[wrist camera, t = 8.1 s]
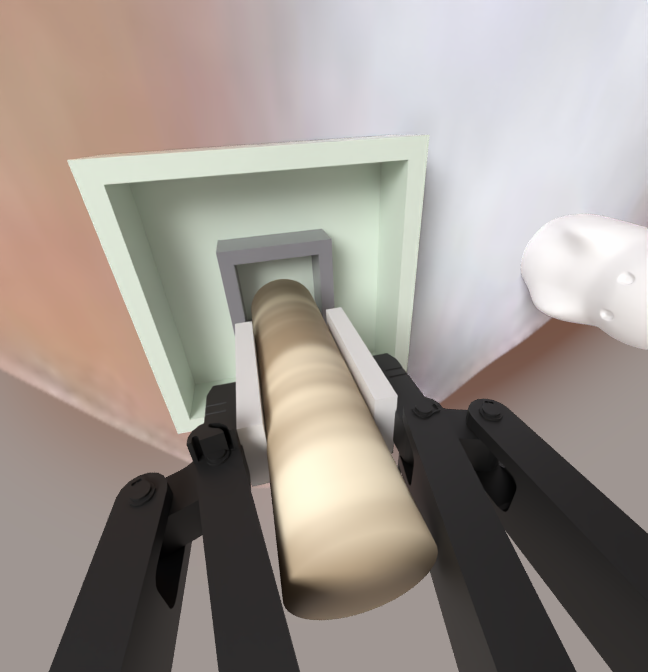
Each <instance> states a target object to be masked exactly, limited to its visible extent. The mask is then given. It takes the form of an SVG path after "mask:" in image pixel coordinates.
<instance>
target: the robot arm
mask: <svg viewBox="0 0 648 672" xmlns="http://www.w3.org/2000/svg"><path fill="white" fill-rule="evenodd" d="M326 318H327V327H328V329H329V331H330V333H331V335H332V337H333V339H334V341H335V343H336V345H337V347H338V349H339V351H340V353H341V355H342V357H343V359H344V361H345V363H346V365H347V367H348V369H349V371H350V373H351V375H352V377H353V379H354V381H355V383H356V385H357V387H358V389H359V391H360V393H361V395H362V397H363V399H364V401H365V403H366V405H367V407H368V409H369V411H370V413H371V415H372V417H373V419H374V421H375V423H376V425H377V427H378V429H379V431H380V433H381V435H382V437H383V439H384V441H385V443H386V445H387V447H388V449H389V451H390V453H391V454H392V453H393V447H394V444H395V445H396V447H397V449H398V451H399V459H398V469H399V471H400V473H402V476H403V479H404V481H405V483H406V485H407V487H408V489H409V491H410V493H411V495H412V497H413V499H414V501H415V503H416V505H417V507H418V509H419V511H420V513H421V515H422V517H423V519H424V521H425V523H426V525H427V527H428V529H429V531H430V533H431V535H432V537H433V539H434V541H435V543H436V545H437V549H438V554H437V559H436V562H435V564H434V565H433V567H432V569H431V570H430V573H431V577H432V580H433V583H434V587H435V590H436V594H437V597H438V601H439V604H440V608H441V611H442V615H443V618H444V622H445V625H446V628H447V632H448V635H449V639H450V642H451V646H452V649H453V653H454V656H455V659H456V663H457V667H458V670H459V672H576V670H575V668H574V666H573V664H572V662H571V660H570V658H569V656H568V654H567V652H566V650H565V648H564V647H563V644H562V642H561V640H560V638H559V636H558V634H557V632H556V630H555V629H554V626H553V624H552V623H551V620H550V618H549V617H548V615H547V613H546V611H545V609H544V607H543V605H542V603H541V601H540V599H539V597H538V595H537V593H536V591H535V589H534V587H533V585H532V583H531V581H530V579H529V577H528V575H527V573H526V571H525V569H524V567H523V565H522V563H521V561H520V559H519V557H518V555H517V553H516V552H515V549H514V547H513V545H512V544H511V542H510V539H509V538H508V535H507V534H506V532H507V533H508V534H509V536H510V537H511V538H512V540H513V541H514V542H515V544H516V545H517V546H518V548H519V549H520V550H521V552H522V553H523V554H524V555H525V557H526V558H527V560H528V561H529V562H530V563H531V565H532V566H533V567H534V569H535V570H536V571H537V573H538V574H539V575H540V577H541V578H542V579H543V581H544V582H545V583H546V584H547V586H548V587H549V588H550V590H551V591H552V592H553V594H554V595H555V596H556V598H557V599H558V600H559V602H560V603H561V604H562V606H563V607H564V608H565V609H566V610H567V612H568V613H569V615H570V616H571V617H572V619H573V620H574V621H575V623H576V624H577V625H578V627H579V628H580V629H581V630H582V632H583V633H584V634H585V636H586V637H587V638H588V639H589V641H590V642H591V644H592V645H593V646H594V648H595V649H596V650H597V652H598V653H599V654H600V655H601V657H602V658H603V660H604V661H605V662H606V663H607V665H608V666H609V667H610V669H611V670H612V671H613V672H648V533H646V532H645V531H644V530H643V529H642V528H641V527H640V526H639V525H638V524H636V523H635V522H634V521H633V520H632V519H631V518H630V517H629V516H628V515H626V514H625V513H624V512H623V511H622V510H621V509H620V508H619V507H617V506H616V505H615V504H614V503H613V502H612V501H611V500H610V499H609V498H607V497H606V496H605V495H604V494H603V493H602V492H601V491H600V490H599V489H597V488H596V487H595V486H594V485H593V484H592V483H591V482H590V481H589V480H587V479H586V478H585V477H584V476H583V475H582V474H581V473H580V472H578V471H577V470H576V469H575V468H574V467H573V466H572V465H571V464H570V463H568V462H567V461H566V460H565V459H564V458H563V457H561V455H560V454H558V453H557V452H556V451H555V450H554V449H553V448H552V447H551V446H550V445H548V444H547V443H546V442H545V441H544V440H543V439H541V437H540V436H538V435H537V434H536V433H535V432H534V431H533V430H532V429H530V427H528V426H527V425H526V424H525V423H524V422H523V421H522V420H521V419H519V418H518V417H517V416H516V415H515V414H514V413H513V412H511V410H509V409H508V408H507V407H506V406H504V405H503V404H501V403H499V402H497V401H494V400H489V399H477V400H475V401H473V402H471V404H470V405H469V408H468V410H456V409H445V408H442V406H441V405H440V404H439V403H438V402H436V401H434V400H433V399H430V398H426V397H424V395H423V394H422V393H421V391H420V390H419V389H418V387H417V386H416V385H415V383H414V382H413V381H412V379H411V378H410V376H409V375H407V372H406V371H405V370H404V368H402V366H401V364H400V363H399V362H398V360H397V359H396V358H394V357H393V356H391V355H389V354H388V353H384V354H379V355H373V356H372V355H371V353H370V352H369V350H368V348H367V347H366V345H365V344H364V342H363V341H362V339H361V337H360V336H359V334H358V333H357V331H356V330H355V328H354V326H353V325H352V323H351V322H350V320H349V319H348V317H347V315H346V314H345V312H344V311H343V309H342V308H341V307H339V308H333V309H327V310H326ZM235 358H236V382H232V383H226V384H221V385H216V386H213V387H212V388H211V390H210V391H209V393H208V394H207V397H206V408H205V417H204V423H203V424H201V425H199V426H198V427H197V428H195V429H194V430H193V431H192V432H191V434H190V435H189V437H188V440H187V447H188V449H189V452H190V455H191V457H192V460H193V462H192V463H191V464H189V465H188V466H187V467H185V468H184V469H182V470H180V471H178V472H176V473H174V474H172V475H170V476H168V477H166V478H165V477H164V476H163V475H161V474H159V473H147V474H143V475H140V476H138V477H136V478H134V479H133V480H131V481H129V482H128V483H127V484H126V485H125V486H124V487H123V488H122V489H121V491H120V492H119V494H118V496H117V497H116V500H115V502H114V505H113V507H112V510H111V513H110V515H109V518H108V521H107V523H106V526H105V528H104V531H103V533H102V536H101V538H100V541H99V544H98V546H97V549H96V551H95V554H94V556H93V559H92V562H91V564H90V567H89V569H88V572H87V575H86V577H85V580H84V582H83V585H82V588H81V590H80V593H79V595H78V598H77V601H76V603H75V606H74V608H73V611H72V613H71V616H70V618H69V621H68V623H67V626H66V629H65V631H64V634H63V636H62V639H61V642H60V644H59V647H58V649H57V652H56V654H55V657H54V660H53V662H52V665H51V667H50V670H49V672H171V668H172V663H173V657H174V650H175V644H176V637H177V631H178V625H179V619H180V613H181V607H182V601H183V594H184V588H185V582H186V575H187V569H188V563H189V557H190V550H191V544H192V541H193V540H195V539H197V538H198V537H200V536H201V535H203V543H204V551H205V560H206V568H207V576H208V585H209V594H210V602H211V610H212V619H213V627H214V635H215V644H216V653H217V661H218V670H219V672H300V670H299V666H298V663H297V659H296V655H295V651H294V648H293V644H292V640H291V636H290V633H289V629H288V625H287V622H286V618H285V615H284V611H283V607H282V603H281V600H280V596H279V592H278V589H277V585H276V581H275V578H274V574H273V570H272V566H271V563H270V559H269V556H268V552H267V548H266V545H265V541H264V537H263V534H262V530H261V526H260V522H259V519H258V515H257V511H256V508H255V504H254V500H253V497H252V494H251V485H252V487H253V486H258V485H262V484H266V483H270V478H269V469H268V459H267V441H266V432H265V423H264V414H263V405H262V396H261V387H260V378H259V370H258V361H257V352H256V343H255V336H254V330H253V325H252V321H250V322H244V323H237V324H235ZM504 529H505V530H504ZM505 531H506V532H505Z"/></svg>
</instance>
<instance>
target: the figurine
mask: <svg viewBox="0 0 648 672" xmlns="http://www.w3.org/2000/svg"><path fill="white" fill-rule="evenodd" d="M521 275H522V278H523V279H524V281H525V283H526V285H527V287H528V289H529V292H530V295H531V298H532V301H533V303H534V305H535V306H536V308H537V309H538V310H540V311H541V312H542V313H544V314H546V315H548V316H550V317H553V318H556V319H559V320H563V321H567V322H573V323H579V324H587V325H592V326H596V327H599V328H600V329H601V330H602V331H604V332H605V333H607V334H608V335H609V336H611V337H613V338H614V339H616V340H618V341H620V342H622V343H624V344H626V345H629V346H632V347H635V348H640V349H645V350H648V228H646V227H643V226H640V225H637V224H633V223H629V222H626V221H622V220H618V219H614V218H610V217H605V216H601V215H595V214H573V215H566V216H561V217H558V218H556V219H553V220H552V221H550V222H548V223H547V224H545V225H544V226H543V227H542V228H540V229H539V230H538V231H537V232H536V234H535V235H534V236H533V237H532V238H531V240H530V241H529V243H528V245H527V246H526V248H525V251H524V253H523V256H522V260H521Z"/></svg>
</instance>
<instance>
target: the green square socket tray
mask: <svg viewBox="0 0 648 672" xmlns="http://www.w3.org/2000/svg"><path fill="white" fill-rule="evenodd" d="M428 145H429V135H383V136H368V137H354V138H339V139H325V140H310V141H295V142H281V143H266V144H252V145H237V146H222V147H208V148H193V149H179V150H164V151H149V152H135V153H120V154H105V155H98V156H91V157H85V158H78V159H72V160H67V161H68V163H69V166H70V168H71V171H72V173H73V176H74V178H75V181H76V183H77V186H78V188H79V190H80V193H81V195H82V198H83V200H84V203H85V205H86V208H87V210H88V213H89V215H90V218H91V220H92V223H93V225H94V228H95V230H96V232H97V235H98V237H99V240H100V242H101V245H102V247H103V250H104V252H105V255H106V257H107V260H108V262H109V265H110V267H111V269H112V272H113V274H114V277H115V279H116V282H117V284H118V287H119V289H120V292H121V294H122V297H123V299H124V302H125V304H126V306H127V309H128V311H129V314H130V316H131V319H132V321H133V324H134V326H135V329H136V331H137V334H138V336H139V339H140V341H141V343H142V346H143V348H144V351H145V353H146V356H147V358H148V361H149V363H150V366H151V368H152V371H153V373H154V376H155V378H156V380H157V383H158V385H159V388H160V390H161V393H162V395H163V398H164V400H165V403H166V405H167V408H168V410H169V413H170V415H171V417H172V420H173V422H174V425H175V427H176V430H177V432H178V434H180V433H185V432H190V431H193V430H194V429H195V428H197V427H198V426H199V425H201V424H203V423H204V417H205V408H206V397H207V394H208V393H209V391H210V390H211V388H212V387H213V386H216V385H221V384H226V383H232V382H236V358H235V324H237V323H244V322H250V321H252V313H251V305H252V301H253V298H254V296H255V294H256V293H257V291H258V290H259V289H260V288H261V287H262V286H264V285H265V284H267V283H269V282H271V281H274V280H278V279H290V280H294V281H297V282H299V283H301V284H303V285H304V286H305V287H306V288H307V289H308V290H309V292H310V293H311V295H312V297H313V299H314V301H315V303H316V305H317V307H318V309H319V311H320V313H321V315H322V317H323V319H324V321H325V323H326V325H327V318H326V310H327V309H333V308H339V307H341V308H342V309H343V311H344V312H345V314H346V315H347V317H348V319H349V320H350V322H351V323H352V325H353V326H354V328H355V330H356V331H357V333H358V334H359V336H360V337H361V339H362V341H363V342H364V344H365V345H366V347H367V348H368V350H369V352H370V353H371V355H372V356H373V355H379V354H384V353H388V354H389V355H391V356H393V357H394V358H396V359H397V360H398V362H399V363H400V364H401V366H402V368H404V370H405V371H406V372H407V364H408V353H409V343H410V332H411V322H412V311H413V301H414V291H415V280H416V270H417V259H418V249H419V238H420V228H421V218H422V207H423V197H424V186H425V176H426V165H427V155H428ZM252 325H253V322H252Z"/></svg>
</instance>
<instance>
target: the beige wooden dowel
mask: <svg viewBox="0 0 648 672" xmlns="http://www.w3.org/2000/svg"><path fill="white" fill-rule="evenodd" d="M251 313H252V322H253V330H254V336H255V343H256V352H257V361H258V370H259V378H260V387H261V396H262V405H263V414H264V423H265V432H266V441H267V459H268V469H269V478H270V487H271V496H272V505H273V514H274V524H275V532H276V541H277V551H278V560H279V569H280V578H281V587H282V597H283V604H284V606H285V608H286V609H287V610H288V611H289V612H290V613H292V614H293V615H295V616H297V617H300V618H304V619H310V620H331V619H339V618H345V617H349V616H353V615H357V614H360V613H364V612H366V611H369V610H372V609H375V608H377V607H380V606H382V605H384V604H386V603H388V602H390V601H392V600H394V599H396V598H398V597H399V596H401V595H403V594H404V593H406V592H407V591H408V590H410V589H411V588H413V587H414V586H415V585H417V584H418V583H419V582H420V581H421V580H422V579H423V578H424V577H425V576H426V575H427V574H428V573H429V571H430V570H431V569H432V567H433V565H434V564H435V562H436V559H437V554H438V549H437V545H436V543H435V541H434V539H433V537H432V535H431V533H430V531H429V529H428V527H427V525H426V523H425V521H424V519H423V517H422V515H421V513H420V511H419V509H418V507H417V505H416V503H415V501H414V499H413V497H412V495H411V493H410V491H409V489H408V487H407V485H406V483H405V481H404V479H403V477H402V475H401V473H400V471H399V469H398V467H397V465H396V463H395V461H394V459H393V457H392V455H391V453H390V451H389V449H388V447H387V445H386V443H385V441H384V439H383V437H382V435H381V433H380V431H379V429H378V427H377V425H376V423H375V421H374V419H373V417H372V415H371V413H370V411H369V409H368V407H367V405H366V403H365V401H364V399H363V397H362V395H361V393H360V391H359V389H358V387H357V385H356V383H355V381H354V379H353V377H352V375H351V373H350V371H349V369H348V367H347V365H346V363H345V361H344V359H343V357H342V355H341V353H340V351H339V349H338V347H337V345H336V343H335V341H334V339H333V337H332V335H331V333H330V331H329V329H328V327H327V325H326V323H325V321H324V319H323V317H322V315H321V313H320V311H319V309H318V307H317V305H316V303H315V301H314V299H313V297H312V295H311V293H310V292H309V290H308V289H307V288H306V287H305V286H304V285H303V284H301V283H299V282H297V281H294V280H290V279H278V280H274V281H271V282H269V283H267V284H265V285H264V286H262V287H261V288H260V289H259V290H258V291H257V293H256V294H255V296H254V298H253V301H252V305H251Z"/></svg>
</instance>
